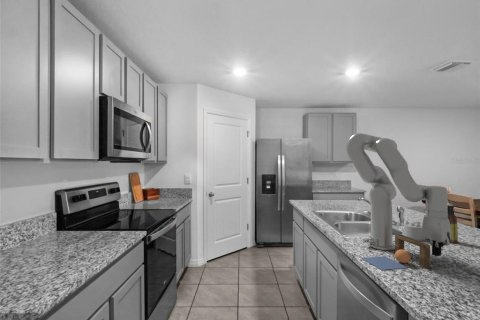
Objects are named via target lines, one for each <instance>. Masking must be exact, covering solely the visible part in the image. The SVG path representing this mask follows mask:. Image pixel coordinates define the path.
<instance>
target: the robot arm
mask: <svg viewBox="0 0 480 320" xmlns="http://www.w3.org/2000/svg"><path fill="white" fill-rule="evenodd" d="M366 151H368V152H373V153H376V154H377V155H378V156H379V158H380V160H381V161H382V163H383V164H384V166H385V167H386V169H387V170H388V172H389V175H390V177H391V179H392V180H391V179H390V177H389V175H388V174H387V173H386V171H385V170H384V169H383V168H382V167H381V166H379V165H378V166H377V165H375V164H374V163H373V161H372V160H371V159H370V157H369V155H368V154H367V153H366ZM346 153H347V155H348V158H349V159H350V161H351V163H352V164H353V166H354V168H355V169H356V171H357V173H358V175H359V177H360V178H361V180H362V181H363V182H364V183H366V184H370V186H371V188H370V190H369V195H368V196H369V203H370V235H369V236H368V237H367V238H362V240H361V241H362V243H364V244H366V243H367V245H368V246H369V247H371V248H373V249H376V250H381V251H395V243H393V205H392V200H394V199H395V198H396V196H397V189H398V191H399V192H400V194H401V196H403V198H404V199H405V200H406V201H408V202H411V203H417V202H420V201H425V209H424V212H425V214H424V216H423V219H422V222H421V223H422V235H423V236H424V238H425V239H426V240H427V241H428V242H429V245H430V247H431V255H432V256H434V257H442V248H443V247H444V246H446V247H448V246H451V243H450V241H451V227H450V222H449V219H448V207H447V204H449V203H448V189H447V187H445V186H441V185H430V186H429V185H422V184H417V182H416V181H415V180H414V178H413V176H412V175H411V172H410V171H409V164H408V162H407V160H406V159H405V158H404V156H403V155H402V154H401V152H400V151H399V149H398V144H397V142H396V141H395V140H393V139H390V138H386V137H385V138H384V137H380V136H375V135H370V134H366V133H354V134H353V135H352V136H350V137H349V139H348V141H347V144H346ZM392 181H393V182H392ZM394 184H395V185H394ZM395 186H396V187H395ZM396 188H397V189H396Z"/></svg>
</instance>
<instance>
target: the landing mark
mask: <svg viewBox="0 0 480 320" xmlns="http://www.w3.org/2000/svg"><path fill="white" fill-rule="evenodd" d="M361 260H363V261H365V262H367V263H368V264H370V265H372V266H374V267H375V268H377V269H378V270H380V271H389V270H399V269H400V270H402V269H408V267H407V266H406V265H404V264H403V263H401V262H399V261H397V260H396V261H395V260H393V259H391V258H389V257H387V256H385V255H381V256H368V257H361Z"/></svg>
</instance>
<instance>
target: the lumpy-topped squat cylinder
mask: <svg viewBox="0 0 480 320" xmlns="http://www.w3.org/2000/svg"><path fill="white" fill-rule="evenodd" d="M422 223H423V222H421V221H418V220H417V221H416V220H404V222H403V235H404V236H407V237H409V238H412V239H415V240H418V241H425V240H427V239H425V238H424V236H423V235H422Z"/></svg>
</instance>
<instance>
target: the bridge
mask: <svg viewBox="0 0 480 320" xmlns="http://www.w3.org/2000/svg"><path fill="white" fill-rule="evenodd" d="M405 242H407V243H409V244H412V245H415V246H417V247H419V267H421V268H423V269H429V268H431V245H430V243H426V242H423V241H422V240H420V241H419V240H415V239H412V238H409V237H407V236H404V234H394V244H395V250H394V254H395V253H396V251H397V250H405Z"/></svg>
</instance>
